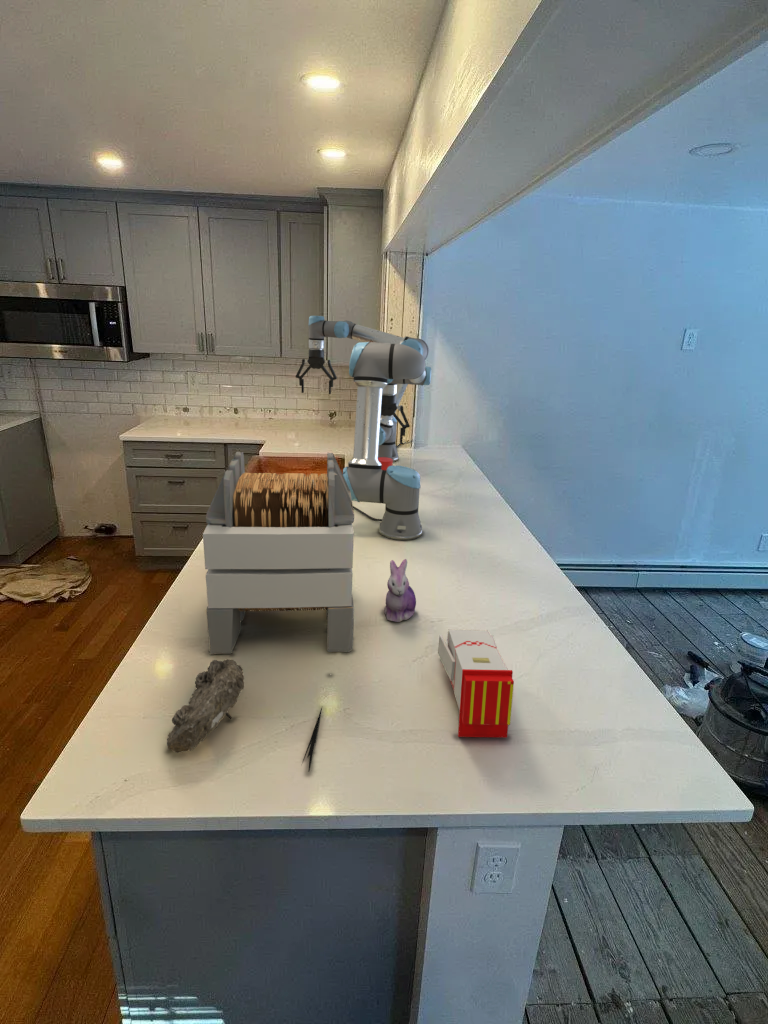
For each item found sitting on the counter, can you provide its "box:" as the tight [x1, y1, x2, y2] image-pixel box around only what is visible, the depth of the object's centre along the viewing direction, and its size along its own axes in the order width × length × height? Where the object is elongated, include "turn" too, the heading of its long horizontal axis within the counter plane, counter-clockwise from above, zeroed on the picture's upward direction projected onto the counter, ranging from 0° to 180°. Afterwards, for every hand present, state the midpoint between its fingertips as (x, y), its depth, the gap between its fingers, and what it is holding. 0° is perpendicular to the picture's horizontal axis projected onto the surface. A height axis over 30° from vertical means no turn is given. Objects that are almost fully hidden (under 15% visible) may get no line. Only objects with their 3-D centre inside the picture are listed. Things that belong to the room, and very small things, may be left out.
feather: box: [301, 673, 332, 771], centre depth 108 cm, size 2×28×2 cm
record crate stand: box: [202, 451, 355, 655], centre depth 137 cm, size 34×33×41 cm
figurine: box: [384, 558, 417, 623], centre depth 145 cm, size 9×10×15 cm
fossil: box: [166, 658, 245, 754], centre depth 106 cm, size 22×10×15 cm
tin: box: [378, 457, 394, 470], centre depth 255 cm, size 8×8×11 cm
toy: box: [437, 628, 515, 738], centre depth 117 cm, size 12×13×30 cm
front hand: (385, 442), depth 250 cm, fingers open, 13 cm apart
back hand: (316, 393), depth 284 cm, fingers open, 13 cm apart
